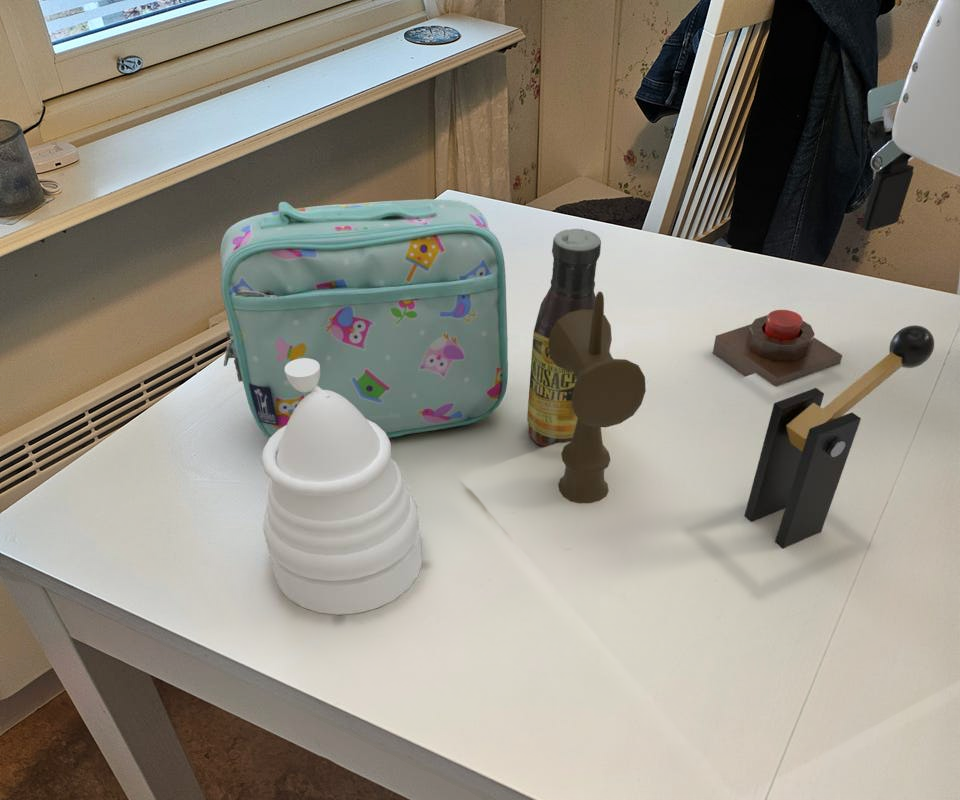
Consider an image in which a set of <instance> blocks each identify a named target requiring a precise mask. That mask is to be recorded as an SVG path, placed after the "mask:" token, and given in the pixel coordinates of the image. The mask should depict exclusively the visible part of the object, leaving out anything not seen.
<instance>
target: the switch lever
mask: <svg viewBox="0 0 960 800" xmlns="http://www.w3.org/2000/svg"><path fill="white" fill-rule="evenodd" d="M934 349H935V339H934V336H933V334H932V332H931V331H930V330H929V329H928V328H926V327H924V326H922V325H908V326H905V327H903V328H900V330H898V331H897V332H896V333H895V334H894V335H893V337H892V338H891V341H890V343H889V349H888V350H889V353H888V354H887V355H885V357H883V359H881V360H880V361H879V362H878V363H876V364H875V365H874V366H873V367H872V368H870V369H869V370H867V372H866V373H864V374H862V376H861V377H860V378H858V379H857V380H856V381H854V382H853V383H852V384H851V385H850V386H849V387H847V388H846V389H845V390H844V391H843V392H841V393H840V394H839V395H838V396H836V397H835V398H834V399H833V400H832V401H831V402H829V403H828V404H826V406H824V407H823V408H822V407H821V406H820V407H819V406H818V405H816V404H815V403H812V404H811V405H810V406H809V407H808V408H806V409H805V410H804V411H803V412H802V413H800V414H799V415H798V416H797V417H796V418H794V419H793V420H792V421H791V422H790V423H788V424H787V425H786V427H787V431H788V435H789V439H790V443H791V444H792V445H794V446H795V447H796V448H798V449H799V450H800V451H802V452H803V449H804V445H805V442H806V439H807V436H808V432H809V429H810V428H813V427H815V426H818V425H820V424H823V423H826V422H828V421H831V420H833V419H836V418H839V417H841V416H844V415H846V414H847V412H849V411H850V410H851V409H853V408H854V407H855V406H856V405H857V404H859V403H860V402H861V401H862V400H863V399H864V398H866V397H867V396H868V395H869V394H871V393H872V392H873V391H874V390H875V389H877V388H878V387H879V386H880V385H882V384H883V383H884V382H886V380H887V379H889V378H890V377H891V376H892V375H893V374H895V373H896V372H897V371H898V370H899V369H901V368H905V369H914V368H917V367H919V366H922V365H924V364H925V363H926V362H927V361H928V360H929V359H930V358H931V356H932V354H933V352H934Z"/></svg>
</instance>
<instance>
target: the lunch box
mask: <svg viewBox="0 0 960 800" xmlns="http://www.w3.org/2000/svg"><path fill="white" fill-rule="evenodd" d="M220 263H221V271H222V272H221V277H220V290H221V292H220V293H221V297H222V301H223V306H224V308H225V313H226V317H227V321H228V325H229V329H230V331H227V332H226V333H225V335H226V337H228V338H230V342H228V343H227V345H226V349H225V355H224V359H223V367H226V366H227V365H228V362H229V359H233V363H234V365H235V370H236V375H237V380H238V382H239V383H241V382H242V386H243V388H244V392H245V397H246V400H247V404H248V406H249V409H250V412H251V414H252V417H253V420H254V422H255V423H256V424H257V426H258V428H259V429H260V431H261V432H262V433H263V434H264V435H265V436H266V438H267V439H269V438H270V437H271V436H272V435H274V434H275V433H276V432H277V431H278V430H279V429H281V428H282V427H284V426H286V425H287V423H288V421H289V419H290V417H291V415H292V413H293V412H294V410H295V408H296V407H297V405H298V404H299V403H300V401H301V400H302V399H303V398H304V397H306V396H307V395H308V394H310V393H311V391H310V392H300V391H298V390H296V389H295V388H294V387H293V386H292V385H291V384H290V382H289V381H288V379H287V376H286V374H285V366H286V365H287V364H288V363H289V362H291V361H293V360H296V359H300V358H309V359H313V360H316V361H317V362H318V363H319V365H320V378H319V381H318V384H317V386H318V387H320V388H321V389H322V390H329V391H333V392H335V393H337V394H339V395H341V396H343V397H344V398H346V399H347V400H348V401H349V402H350V403H351V404H352V405H354V406H355V407H356V408H357V409H358V410H359V411H360V413H361V414H362V415H363V416H364V417H365V418H366V419H367V420H369V421H371V422H373V423H375V424H377V425H378V426H379V427H380V428H381V429H382V430H383V431H384V432H385V433H386V435H387V437H388V439H390V438H391V439H392V438H395V437H401V436H404V435H410V434H411V435H412V434H419V433H423V432H431V431H432V432H433V431H439V430H443V429H448V428H454V427H459V426H460V427H461V426H467V425H471V424H475V423H476V422H479V421H481V420H482V419H484V418H486V417H488V416H489V415H490V414H491V413H493V412H494V411H495V410H496V409H497V408H498V407H499V406H500V404H501V402H502V401H503V399H504V396H505V395H506V392H507V388H508V379H509V359H508V356H509V355H508V354H509V353H508V352H509V351H508V348H509V347H508V341H509V340H508V339H509V338H508V312H507V311H508V310H507V282H506V265H505V257H504V252H503V248H502V245H501V243H500V241H499V238H498V237H497V236H496V234H494V233H493V231H491V230H490V226H489V223H488V222H487V219H486V217H485V216H484V214H483V213H482V212H481V211H480V210H479V209H478V208H477V207H476V206H474V205H473V204H470V203H468V202H465V201H461V200H456V199H438V198H437V199H434V198H431V199H429V198H425V199H404V200H402V199H401V200H384V201H372V202H369V201H368V202H358V203H343V204H327V205H317V206H307V207H306V206H305V207H298V208H294V207H293V206H292V205H291V204H290V203H288V202H286V201H280V203H278V210H276V211H271V212H266V213H262V214H257V215H253V216H250V217H246V218H244V219H241V220H240V221H238V222H236V223H234V224H233V225H231V226H230V227H229V228H227V230H226V232H225V233H224V235H223V237H222V240H221V245H220Z"/></svg>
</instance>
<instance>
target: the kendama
mask: <svg viewBox="0 0 960 800" xmlns="http://www.w3.org/2000/svg"><path fill="white" fill-rule="evenodd" d="M595 297H596V298H595V302H594V309H593V310H587V309H580V310H577V311H573V312H569V313H567V314H566V315H564V316H563V317H562V318H560V319H559V320H557V322H556V324H555V325H554V327H553V328H552V330H551V333H550V337H549V342H548V347H549V354H550V357H551V359H552V360H553V362H554V363H555V365H556V366H558V367H560V368H562V369H565V370H567V371H573V372H574V374H575V376H576V378H577V380H576V382H575V386H574V390H573V394H572V405H573V412H574V413H575V415H576V416H577V418H578V419H577V423H576V427H575V431H574V434H573V437H572V440H571V441H569V443H567V444H565V445H564V446H563V449H562V451H561V453H560V455H561V461H562V463H563V464H564V466H565V467H564V473H563V476H562V477H561V478H560V479H559V481H558V483H557V487H558V492H559V493H560V494H561V496H562V497H563V498H564V499H566V500H567V501H569V502H571V503H575V504H581V505H583V504H593V503H596V502H600V501H602V500H604V499H605V498H606V497H607V496H608V494H609V492H610V490H609V485H608V483H607V481H606V480H605V470H606V469H608V467H609V466H610V463H611V455H610V451H609V450H608V449H607V447H605V445H604V443H603V436H602V428H609V427H613V426H616V425H621V424H623V422H626V421H627V420H628V419H630V418H632V417H633V416H634V415H635V413H636V412H637V411H638V410H639V409H640V407H641V405H642V403H643V400H644V397H645V394H646V391H647V390H646V389H647V388H646V387H647V386H646V377H645V375H644V373H643V371H642V369H641V367H640V365H638V364H636V363H634V362H633V361H631V360H628V359H623V358H622V359H621V358H613V356H612V354H611V352H610V351H611V345H612V341H613V337H612V325H611V323H610V321H609V320H608V318H607V316H606V315H605V297H604V293H603V292H602V291H597V293H596V294H595Z"/></svg>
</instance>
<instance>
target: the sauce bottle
mask: <svg viewBox="0 0 960 800" xmlns="http://www.w3.org/2000/svg"><path fill="white" fill-rule="evenodd" d="M552 240H553V242H552V250H551V253H552V257H553V262H552V275H551V279H550V287H549V289H548V291H547V293H546V295H545V296H544V297H543V299H542V301H541V302H540V306H539V309H538V314H537V317H536V321H535V325H534V329H533V333H532V334H533V335H532V347H531V357H530V359H531V362H530V373H529V385H528V386H529V387H528V401H527V413H526V419H527V425H528V435H529V437H530V438H531V439H532V441H534V442H535V443H536V444H537V445H539V446H541V447H542V448H546V447H549V446H550V447H551V446H552V445H555V444H559V443H567V442H571V440H572V437H573V434H574V431H575V427H576V423H577V419H578V418H577V416H576V415H575V413H574V412H573V405H572V394H573V390H574V386H575V382H576V380H577V378H576V376H575V374H574V372H573V371H567V370H565V369H562V368H560V367H558V366H556V365H555V363H554V362H553V360H552V359H551V357H550V354H549V347H548V342H549V337H550V333H551V330H552V328H553V327H554V325H555V324H556V322H557V320H559V319H560V318H562V317H563V316H564V315H566V314H567V313H569V312H573V311H577V310H580V309H587V310H593V309H594V302H595V298H596V293H595V287H596V282H595V278H596V271H597V262H598V260H599V259H600V256H601V251H602V250H601V249H602V246H601V245H602V240H601V237H599V236H598V234H596V233H595V232H592V231H590V230H585V229H583V228H581V229H580V228H571V229H564V230H561V231H558V232H557V233H556V234H555V235H554V237H553V239H552Z"/></svg>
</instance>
